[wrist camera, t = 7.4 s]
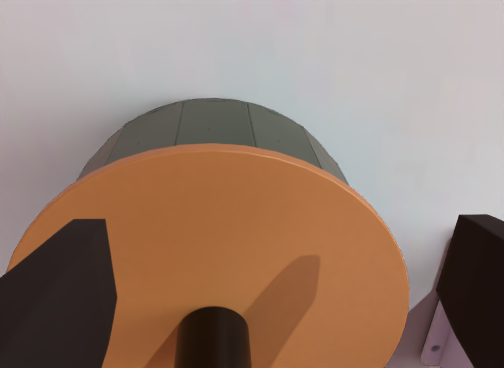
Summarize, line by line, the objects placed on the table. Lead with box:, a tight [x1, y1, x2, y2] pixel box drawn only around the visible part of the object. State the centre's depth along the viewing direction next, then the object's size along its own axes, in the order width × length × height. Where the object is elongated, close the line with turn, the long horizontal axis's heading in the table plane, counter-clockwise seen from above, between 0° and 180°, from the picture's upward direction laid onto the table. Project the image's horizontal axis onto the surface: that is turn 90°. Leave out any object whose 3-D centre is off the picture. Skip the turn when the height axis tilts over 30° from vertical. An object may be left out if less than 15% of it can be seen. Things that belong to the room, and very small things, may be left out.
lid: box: [6, 143, 409, 368], centre depth 14 cm, size 14×14×5 cm
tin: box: [76, 98, 349, 186], centre depth 18 cm, size 12×12×6 cm
